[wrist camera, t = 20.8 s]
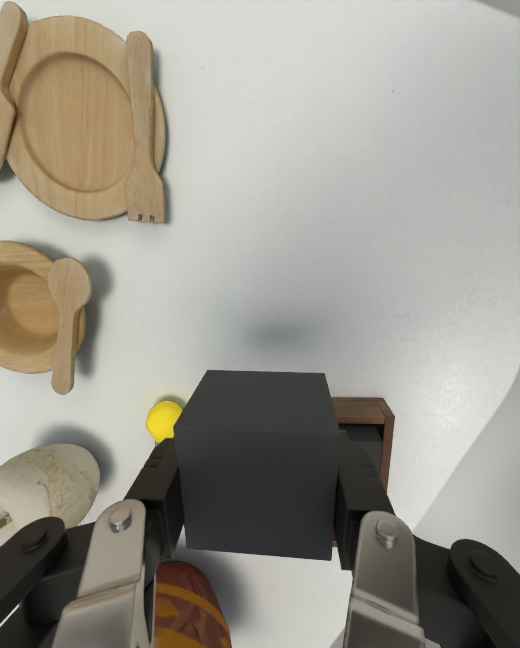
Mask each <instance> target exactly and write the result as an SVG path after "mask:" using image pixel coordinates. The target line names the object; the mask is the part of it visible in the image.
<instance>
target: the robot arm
mask: <svg viewBox="0 0 520 648" xmlns="http://www.w3.org/2000/svg"><path fill="white" fill-rule="evenodd" d="M340 434H341V439H340V452H339V465H338V479H337V492H336V506H335V519H334V531H335V537H336V542H337V548H338V553H339V559H340V564H341V569H342V570H351V572H352V576H353V581H352V588H351V594H350V598H349V605H348V612H347V620H346V627H345V634H344V642H343V648H426V647H425V638H427V639H429V640H431V641H433V642H435V643H438V644H439V645H440V647H441V648H520V574H519V573H518V572H517V571H516V570H515V569H514V568H513V567H512V566H511V565H510V564H509V563H508V561H506V560H505V559H504V558H503V557H502V556H501V555H500V554H498V552H496V551H495V550H493V549H492V548H490V547H488V546H487V545H485V544H482V543H480V542H477V541H474V540H470V539H461V540H457V541H456V542H454V543H453V544H452V546H451V549H447V548H444V547H441V546H438V545H435V544H432V543H429V542H427V541H424V540H422V539H420V538H418V537H416V536H415V535H413V534H412V532H411V530H410V529H409V527H408V526H407V525H406V524H405V523H404V522H403V521H402V520H401V519H399V518H398V517H396V515H395V513H394V510H393V508H392V506H391V503H390V501H389V498H388V496H387V494H386V491H385V489H384V486H383V484H382V481H381V479H380V477H379V474H378V472H377V469H376V468H375V465H374V462H373V460H372V457H371V455H370V454H369V453H368V452H367V451H366V450H365V449H364V447H363V446H362V445H358V444H350V441H349V438H348V435H347V432H346V431H345V430H340ZM184 521H185V517H184V508H183V499H182V490H181V481H180V472H179V466H177V457H176V448H175V439H174V437H173V438H165V439H164V440H163V441H161V442H160V443H159V444H158V445H157V446H155V448H154V450H153V451H152V453H151V455H150V456H149V459H148V460H147V461H146V463H145V465H144V468H142V470H141V471H140V473H139V475H138V476H137V478H136V480H135V481H134V483H133V485H132V486H131V488H130V490H129V491H128V493H127V495H126V496H125V498H124V500H122V501H119V502H117V503H115V504H113V505H111V506H110V507H108V508H107V509H106V510H105V511H103V513H102V514H101V515H100V516H99V517H98V519H97V521H95V522H92V523H89V524H85V525H81V526H76V527H72V528H68V529H66V528H65V524H64V522H63V520H62V519H61V518H59V517H53V516H50V517H44V518H41V519H38V520H35V521H33V522H31V523H29V524H28V525H26V526H24V527H23V528H21V529H20V530H19V531H18V532H16V533H15V534H14V535H13V536H12V537H11V538H10V539H8V540H7V541H6V542H5V543H4V544H3V545H2V546H0V623H1V622H2V621H3V620H4V619H5V618H6V617H7V616H8V615H9V614H10V612H11V611H12V610H13V609H14V608H15V607H16V606H17V605H18V604H19V607H18V608H17V609H16V611H15V612H14V613H13V614H12V615H11V616H10V617H9V618H8V619H7V621H6V622H5V623H4V624H3V625H2V626H1V627H0V648H51V647H52V648H154V631H155V601H156V573H155V572H156V570H157V567H158V564H159V562H160V559H161V558H167V559H172V557H173V554H174V551H175V548H176V545H177V542H178V539H179V536H180V533H181V530H182V527H183V524H184Z"/></svg>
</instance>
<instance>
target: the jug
mask: <svg viewBox="0 0 520 648" xmlns="http://www.w3.org/2000/svg"><path fill="white" fill-rule="evenodd" d="M155 573H156V601H155V631H154V648H232V646H231V640H230V634H229V628H228V626H227V623H226V621H225V618H224V616H223V613H222V611H221V608H220V606H219V603H218V601H217V599H216V597H215V595H214V592H213V590H212V588H211V586H210V584H209V582H208V580H207V579H206V577H205V576H204V575H203V573H202V572H200V571H199V570H198V569H196V568H195V567H193V566H191V565H189V564H186V563H182V562H176V561H168V562H162V563H159V564H158V567H157V570H156V572H155Z"/></svg>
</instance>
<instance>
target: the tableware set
mask: <svg viewBox="0 0 520 648" xmlns="http://www.w3.org/2000/svg"><path fill="white" fill-rule="evenodd" d="M165 138H166V134H165V120H164V113H163V109H162V105H161V101H160V98H159V95H158V91H157V88H156V86H155V84H154V82H153V46H152V42H151V41H150V39H149V37H148V36H147V35H146V34H145V33H143V32H141V31H134V32H130V33H129V34H128V36H127V41H126V42H125V41H124V40H123V39H122V38H121V37H119V36H118V35H117V34H115V33H114V32H113V31H111V30H110V29H108V28H106V27H104V26H103V25H101V24H99V23H97V22H94V21H91V20H89V19H85V18H82V17H76V16H53V17H49V18H44V19H41V20H38V21H36V22H33V23H31V24H29V25H28V20H27V15H26V13H25V12H24V11H23V10H22V9H21V8H20V7H19V6H18V5H17V4H16V3H14V2H11V1H8V2H5V3H4V5H3V6H2V9H1V12H0V171H1V169H2V166H3V163H4V160H5V159H6V160H7V161H8V163H9V165H10V167H11V169H12V170H13V172H14V173H15V174H16V176H17V177H18V178H19V180H20V181H21V182H22V183H23V185H24V186H25V187H26V188H27V189H28V190H29V191H30V192H31V193H32V194H33V195H34V196H35V197H36V198H37V199H39V200H40V201H41V202H42V203H44V204H45V205H46V206H48V207H50V208H52V209H54V210H55V211H57V212H60V213H62V214H65V215H67V216H70V217H74V218H78V219H83V220H103V219H109V218H113V217H116V216H119V215H121V214H123V213H125V212H128V219H129V220H131V221H139V215H142V220H143V222H151V216H154V222H155V223H164V221H165V187H164V183H163V181H162V179H161V177H160V176H159V175H158V174H159V172H160V169H161V165H162V161H163V156H164V151H165ZM92 290H93V285H92V280H91V277H90V274H89V272H88V270H87V268H86V267H85V266H84V265H83V264H82V263H81V262H80V261H78V260H76V259H74V258H70V257H65V258H61V259H58V260H56V261H54V260H53V259H51V258H50V257H49V256H47V255H46V254H44V253H43V252H41V251H40V250H38V249H35V248H33V247H31V246H28V245H25V244H22V243H18V242H13V241H0V366H1V367H3V368H6V369H9V370H12V371H16V372H21V373H28V374H37V373H45V372H48V371H52V370H53V374H52V388H53V389H54V391H55V392H57V393H58V394H61V395H65V394H67V393H68V392H70V391H71V390H72V388H73V386H74V372H75V354H76V353H77V351H78V349H79V348H80V346H81V344H82V341H83V338H84V335H85V327H86V317H85V310H84V305H85V304H87V303H88V301H89V300H90V298H91V295H92Z"/></svg>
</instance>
